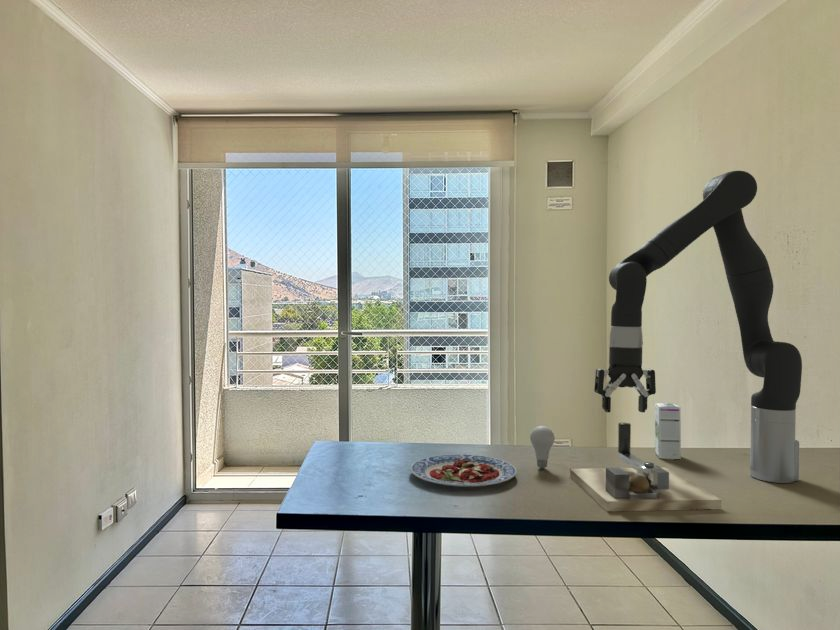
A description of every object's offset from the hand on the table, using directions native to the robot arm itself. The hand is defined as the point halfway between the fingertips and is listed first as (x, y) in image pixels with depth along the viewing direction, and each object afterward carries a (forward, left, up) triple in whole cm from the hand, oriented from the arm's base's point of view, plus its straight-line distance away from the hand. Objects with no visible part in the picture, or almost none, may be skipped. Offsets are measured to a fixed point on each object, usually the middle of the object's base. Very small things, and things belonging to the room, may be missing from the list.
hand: (624, 411), depth 137 cm
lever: (0, +9, -13) cm, 15 cm away
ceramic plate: (+39, -3, -17) cm, 42 cm away
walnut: (+4, +18, -14) cm, 23 cm away
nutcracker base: (+1, +10, -16) cm, 19 cm away
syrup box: (-20, -18, -16) cm, 31 cm away
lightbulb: (+18, -8, -16) cm, 25 cm away
